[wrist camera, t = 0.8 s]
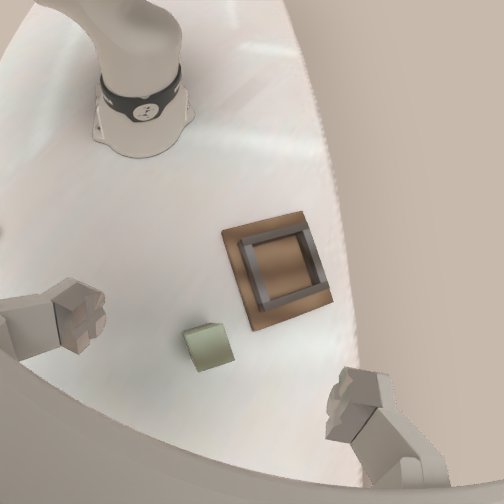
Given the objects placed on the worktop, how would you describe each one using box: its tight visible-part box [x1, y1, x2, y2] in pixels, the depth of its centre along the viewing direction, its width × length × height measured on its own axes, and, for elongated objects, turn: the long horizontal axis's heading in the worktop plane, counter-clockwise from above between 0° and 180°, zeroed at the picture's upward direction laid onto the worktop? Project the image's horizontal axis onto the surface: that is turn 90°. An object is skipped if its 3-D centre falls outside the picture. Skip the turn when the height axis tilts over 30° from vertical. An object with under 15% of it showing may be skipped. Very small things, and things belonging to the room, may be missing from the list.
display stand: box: [221, 211, 333, 331], centre depth 48 cm, size 16×14×4 cm
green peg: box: [183, 323, 235, 372], centre depth 39 cm, size 4×4×12 cm
